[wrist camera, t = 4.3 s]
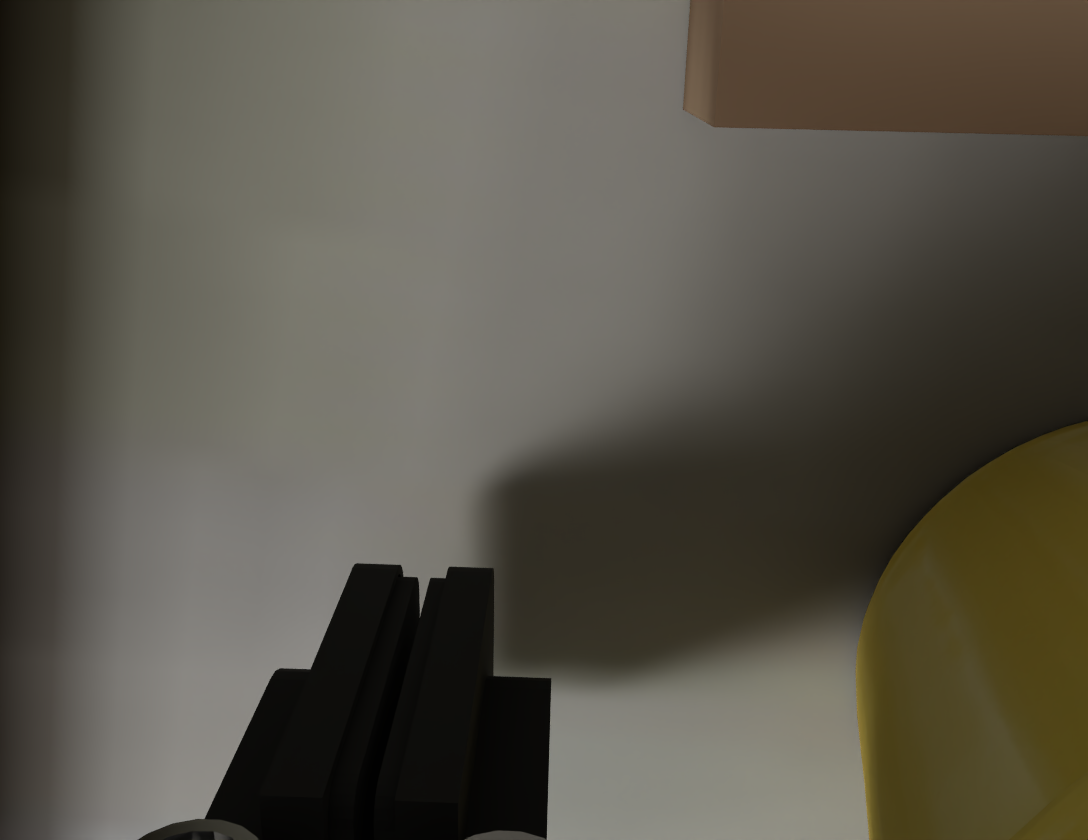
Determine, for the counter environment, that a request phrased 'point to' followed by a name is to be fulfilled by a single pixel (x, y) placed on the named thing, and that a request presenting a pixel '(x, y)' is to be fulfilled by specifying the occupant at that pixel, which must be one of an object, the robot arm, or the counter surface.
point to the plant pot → (984, 658)
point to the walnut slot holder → (890, 65)
